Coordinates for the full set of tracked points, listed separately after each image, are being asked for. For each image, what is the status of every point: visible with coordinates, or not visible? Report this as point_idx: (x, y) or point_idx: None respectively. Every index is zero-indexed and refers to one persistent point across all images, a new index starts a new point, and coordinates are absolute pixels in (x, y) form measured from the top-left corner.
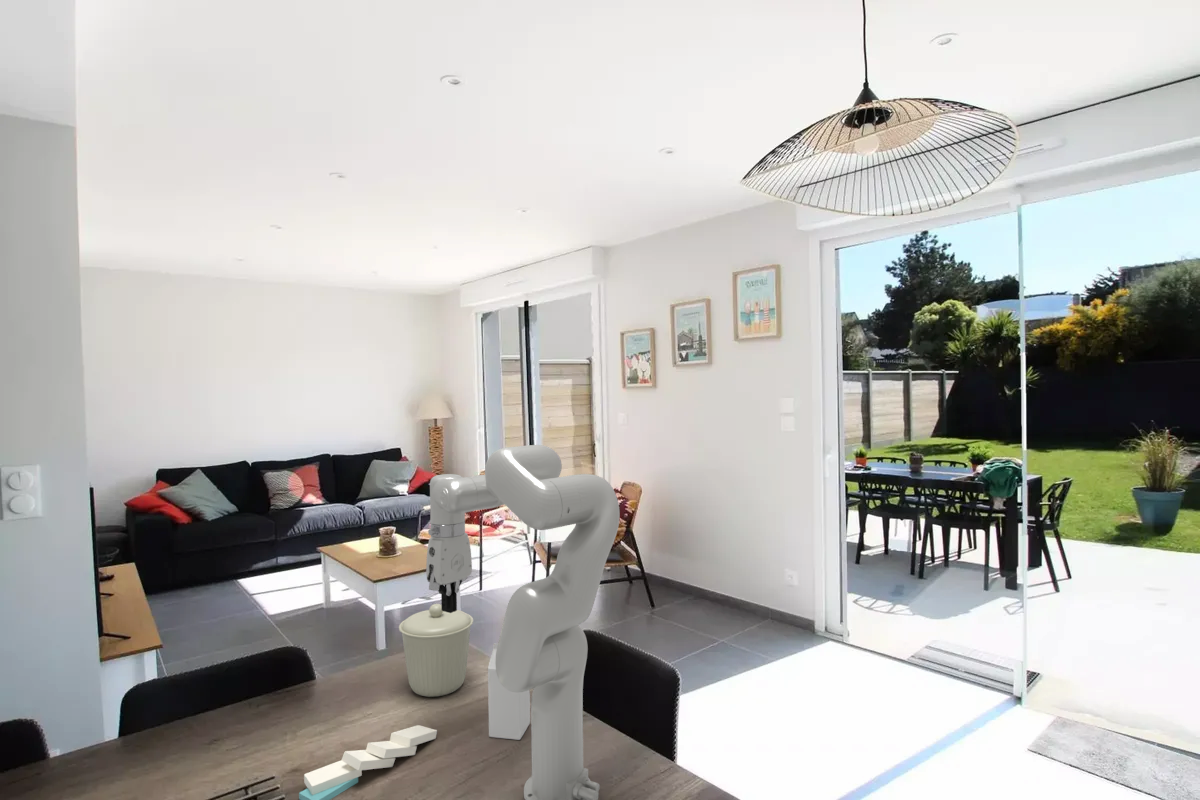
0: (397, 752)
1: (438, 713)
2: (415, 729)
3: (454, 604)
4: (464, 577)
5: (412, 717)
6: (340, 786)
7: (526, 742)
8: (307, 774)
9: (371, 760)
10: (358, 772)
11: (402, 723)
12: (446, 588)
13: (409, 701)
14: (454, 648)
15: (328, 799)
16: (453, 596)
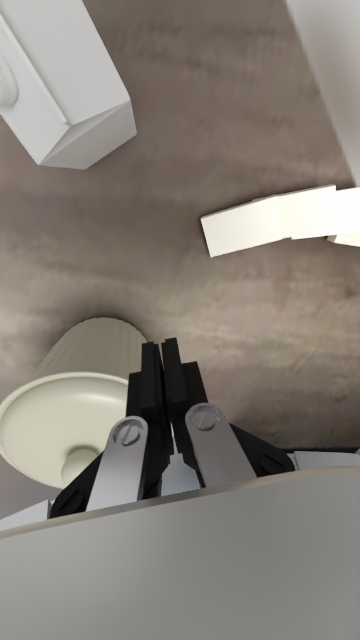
0: (300, 191)
1: (152, 281)
2: (231, 238)
3: (156, 362)
4: (48, 528)
5: (185, 299)
6: None
7: None
8: None
9: (353, 188)
10: None
11: (205, 295)
12: (242, 451)
13: (161, 341)
14: (88, 353)
15: None
16: (161, 399)
